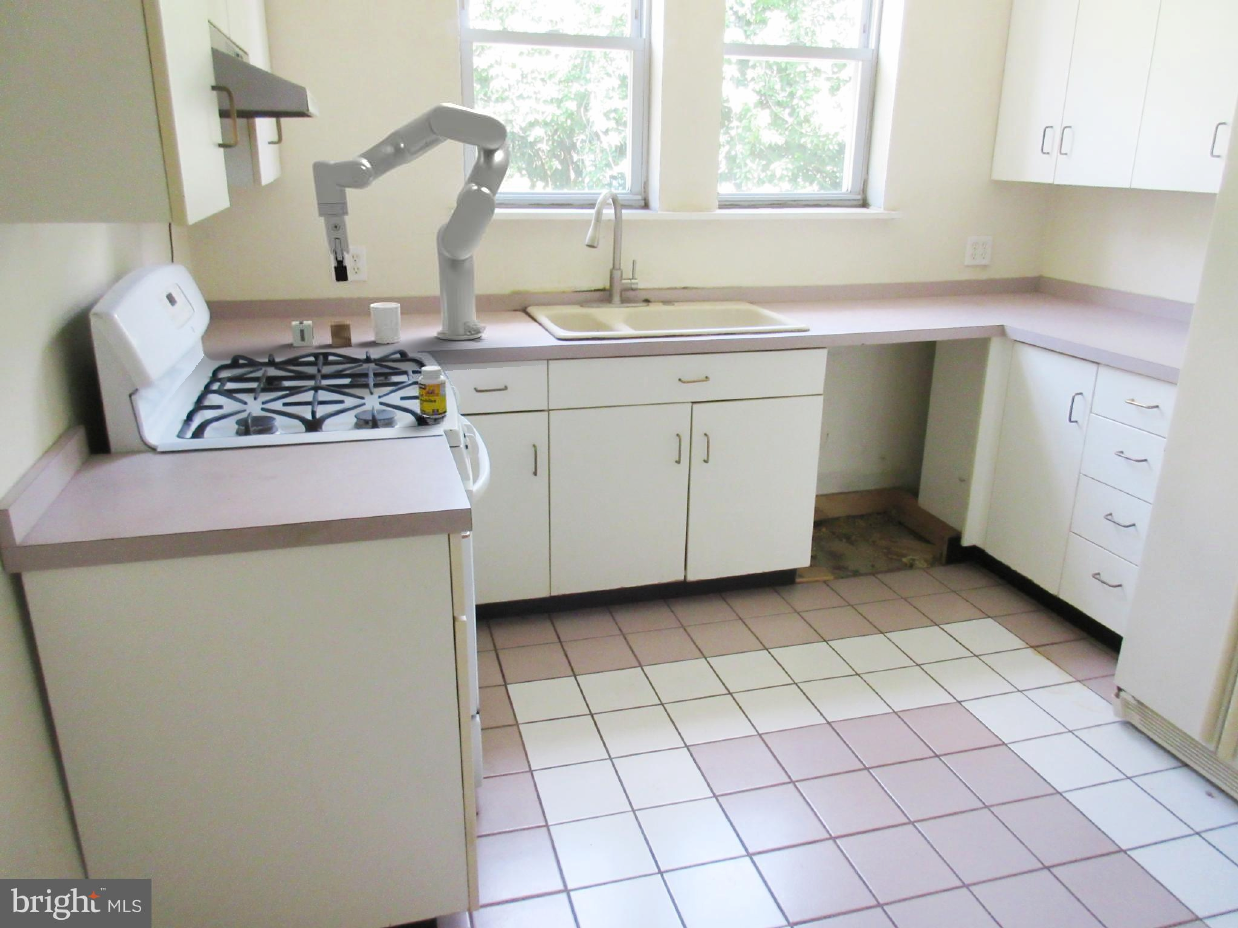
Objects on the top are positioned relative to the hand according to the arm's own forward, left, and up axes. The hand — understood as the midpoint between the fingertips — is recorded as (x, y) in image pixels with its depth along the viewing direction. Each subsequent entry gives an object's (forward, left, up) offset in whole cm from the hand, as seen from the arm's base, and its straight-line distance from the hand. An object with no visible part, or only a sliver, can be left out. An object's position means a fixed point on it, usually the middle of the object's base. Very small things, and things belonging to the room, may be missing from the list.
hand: (342, 281), depth 241 cm
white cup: (-9, -6, -17) cm, 20 cm away
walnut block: (-2, +4, -16) cm, 17 cm away
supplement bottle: (-67, +43, -17) cm, 82 cm away
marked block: (+7, +9, -16) cm, 20 cm away
